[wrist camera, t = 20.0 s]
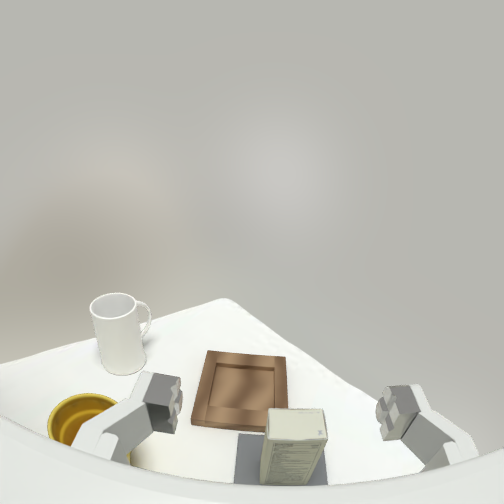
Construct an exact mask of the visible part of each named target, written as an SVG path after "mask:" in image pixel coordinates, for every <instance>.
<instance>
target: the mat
mask: <svg viewBox="0 0 504 504" xmlns="http://www.w3.org/2000/svg"><path fill="white" fill-rule="evenodd" d="M264 436H265V435H252V434H239V437H238V447H237V457H236V467H235V477H234V484H244V485H261V486H319V485H328V482H327V473H326V464H325V455H324V449H323V451H322V454H321V456H320V458H319V460H318V462H317V464H316V467H315V469H314V471H313V473H312V475H311V477H310V479H309V481H308V483H307V484H306V485H262V484H260V462H261V454H262V448H263V442H264Z"/></svg>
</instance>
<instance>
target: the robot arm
mask: <svg viewBox="0 0 504 504" xmlns="http://www.w3.org/2000/svg"><path fill="white" fill-rule="evenodd" d="M180 386H181V379H180V377H175V376H170V375H164V374H159V373H153V372H148V371H142V372H141V373H140V376H139V378H138V380H137V382H136V384H135V386H134V389H133V391H132V393H131V395H130V398H129V399H126V398H125V399H124V400H122V401H120V402H119V403H117V404H115V405H114V406H112V407H110V408H109V409H107V410H105V411H104V412H102V413H100V414H99V415H97V416H95V417H93V418H92V419H90V420H88V421H87V422H85V423H83V424H82V425H81V427H80V429H79V431H78V433H77V435H76V437H75V439H74V441H73V443H72V445H71V447H70V446H68V445H65V444H62V443H60V442H57V441H55V440H53V439H50V438H48V437H45V436H43V435H41V434H39V433H36V432H34V431H32V430H30V429H28V428H26V427H23V426H21V425H19V424H17V423H15V422H14V421H12V420H10V419H8V418H6V417H3V416H0V504H504V447H503V448H500V449H497V450H495V451H492V452H489V453H487V454H484V455H481V456H480V455H479V453H478V451H477V448H476V446H475V444H474V442H473V440H472V438H471V436H470V435H469V434H467V433H466V432H464V431H463V430H461V429H460V428H459V427H457V426H456V425H455V424H453V423H452V422H450V421H449V420H447V419H446V418H445V417H443V416H442V415H440V414H439V413H438V412H436V411H434V410H433V411H432V410H431V408H430V406H429V403H428V401H427V399H426V397H425V395H424V393H423V390H422V389H421V386H420V385H419V384H412V385H399V386H387V387H386V388H385V389H384V390H383V392H382V393H383V396H384V397H382V398H381V399H380V400H379V401H378V403H377V405H376V418H377V421H378V422H379V423H380V424H382V425H381V427H380V432H381V435H382V439H383V441H389V440H399V439H401V441H402V442H403V443H404V444H405V445H406V446H407V447H408V448H409V449H410V450H411V451H412V452H413V453H414V454H415V455H416V456H417V457H418V458H419V459H420V460H421V461H422V462H423V463H424V465H425V467H424V468H423V469H422V470H421V471H420V472H419V473H415V474H410V475H405V476H400V477H394V478H388V479H381V480H374V481H367V482H358V483H348V484H336V485H319V486H261V485H244V484H232V483H222V482H213V481H206V480H199V479H192V478H186V477H180V476H174V475H169V474H164V473H159V472H155V471H150V470H146V469H142V468H138V467H134V466H131V464H130V462H129V460H128V458H127V456H126V455H127V454H128V453H129V452H130V451H132V450H133V449H134V448H135V447H136V446H138V445H139V444H140V443H141V442H142V441H143V440H145V439H146V438H147V437H148V436H149V435H150V434H152V433H153V431H157V432H163V433H169V434H174V433H175V429H176V426H177V422H178V420H177V415H178V414H179V413H180V411H181V408H182V391H181V390H180Z"/></svg>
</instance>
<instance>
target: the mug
mask: <svg viewBox="0 0 504 504" xmlns="http://www.w3.org/2000/svg"><path fill="white" fill-rule="evenodd" d="M137 306H143V307H145V308H146V309H147V311H148V321H147V324H146V326H145V328H144V329H143V330H142V331H140V324H139V318H138V311H137ZM90 313H91V318H92V322H93V326H94V330H95V334H96V338H97V342H98V346H99V350H100V354H101V358H102V365H103V367H104V368H105V370H107V371H108V372H110V373H112V374H115V375H130V374H133V373H135V372H137V371H139V370H140V369H141V368H142V367H143V366H144V364H145V362H146V354H145V352H144V349H143V344H142V337H143V336H144V335H145V334H146V333H147V331H148V329H149V327H150V324H151V320H152V314H151V310H150V308H149V307H148V306H147V305H146V304H145V303H144V302H141V301H136V300H135V299H134V298H133V297H132V296H130V295H128V294H123V293H109V294H105V295H102V296H100V297H98V298H96V299H95V300H94V301H93V302H92V303H91V305H90Z"/></svg>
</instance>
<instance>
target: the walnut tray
mask: <svg viewBox="0 0 504 504" xmlns="http://www.w3.org/2000/svg"><path fill="white" fill-rule="evenodd" d="M269 408H280V409H288V395H287V376H286V357H280V356H265V355H251V354H239V353H229V352H219V351H210V350H208V351H207V355H206V359H205V363H204V367H203V371H202V375H201V379H200V383H199V387H198V391H197V395H196V399H195V403H194V407H193V411H192V416H191V425H197V426H204V427H212V428H221V429H230V430H241V431H254V432H265V429H266V423H267V416H268V409H269Z"/></svg>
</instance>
